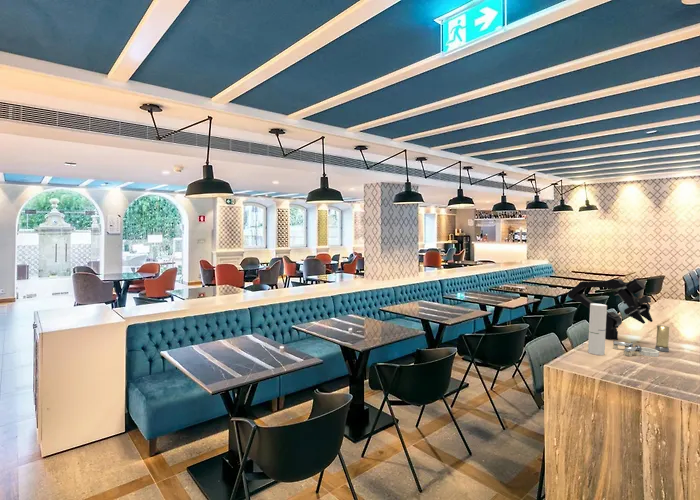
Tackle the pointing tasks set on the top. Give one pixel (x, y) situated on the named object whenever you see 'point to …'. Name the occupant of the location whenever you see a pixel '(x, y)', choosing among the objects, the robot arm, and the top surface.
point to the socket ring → (649, 352)
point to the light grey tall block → (597, 329)
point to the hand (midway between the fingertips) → (648, 322)
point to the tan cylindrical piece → (662, 338)
